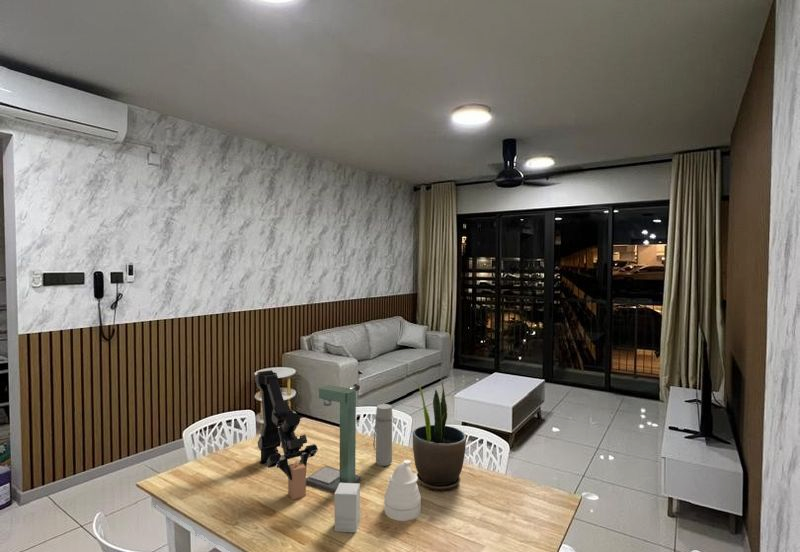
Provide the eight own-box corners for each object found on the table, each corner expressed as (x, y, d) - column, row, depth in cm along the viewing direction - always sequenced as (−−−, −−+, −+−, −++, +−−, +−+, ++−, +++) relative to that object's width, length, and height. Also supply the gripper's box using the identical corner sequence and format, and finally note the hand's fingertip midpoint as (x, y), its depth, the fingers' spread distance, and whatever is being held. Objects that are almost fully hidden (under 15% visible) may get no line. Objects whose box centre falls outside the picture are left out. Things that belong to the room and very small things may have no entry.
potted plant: (451, 465, 184) (452, 373, 183) (475, 490, 163) (476, 387, 163) (405, 472, 178) (406, 377, 177) (423, 499, 157) (424, 392, 156)
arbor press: (304, 482, 168) (305, 388, 167) (335, 463, 185) (335, 377, 185) (341, 494, 159) (342, 395, 159) (369, 473, 177) (370, 383, 176)
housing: (288, 493, 160) (288, 461, 160) (300, 490, 163) (300, 457, 163) (292, 499, 156) (293, 466, 156) (305, 495, 159) (305, 462, 158)
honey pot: (428, 509, 150) (428, 459, 150) (403, 525, 141) (404, 472, 140) (401, 496, 159) (402, 448, 159) (376, 510, 150) (377, 459, 149)
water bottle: (395, 461, 187) (396, 405, 187) (385, 468, 180) (386, 410, 180) (378, 456, 192) (379, 401, 192) (368, 463, 185) (368, 406, 185)
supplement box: (360, 519, 144) (360, 483, 144) (356, 533, 136) (356, 494, 136) (339, 518, 145) (339, 481, 144) (333, 531, 137) (334, 493, 137)
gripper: (269, 433, 157) (278, 475, 148) (316, 423, 167) (327, 462, 158) (262, 447, 163) (271, 488, 155) (308, 436, 174) (319, 474, 165)
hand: (298, 477), depth 158 cm, fingers closed on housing, 5 cm apart
